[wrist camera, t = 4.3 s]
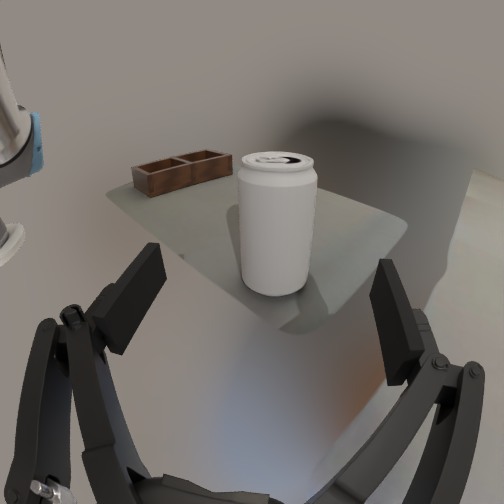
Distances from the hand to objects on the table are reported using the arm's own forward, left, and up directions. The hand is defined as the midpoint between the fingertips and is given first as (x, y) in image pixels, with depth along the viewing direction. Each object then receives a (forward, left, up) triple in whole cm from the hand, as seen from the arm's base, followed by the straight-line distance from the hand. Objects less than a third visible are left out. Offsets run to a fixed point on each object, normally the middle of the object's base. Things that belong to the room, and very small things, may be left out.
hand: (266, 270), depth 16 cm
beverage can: (+7, +6, -8) cm, 12 cm away
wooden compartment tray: (+16, +42, -8) cm, 45 cm away
